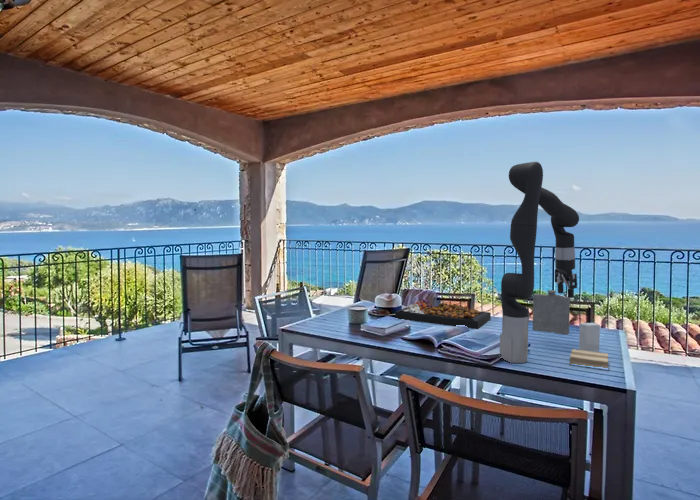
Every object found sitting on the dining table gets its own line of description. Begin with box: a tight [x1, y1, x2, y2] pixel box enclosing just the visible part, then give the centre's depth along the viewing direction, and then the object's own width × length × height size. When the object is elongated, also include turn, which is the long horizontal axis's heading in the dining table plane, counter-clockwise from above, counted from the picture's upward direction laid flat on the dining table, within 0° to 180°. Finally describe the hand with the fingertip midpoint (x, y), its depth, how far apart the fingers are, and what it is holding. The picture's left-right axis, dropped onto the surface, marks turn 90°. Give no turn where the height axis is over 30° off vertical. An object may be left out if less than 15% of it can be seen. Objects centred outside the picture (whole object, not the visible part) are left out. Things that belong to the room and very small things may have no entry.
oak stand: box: [569, 348, 609, 369], centre depth 159 cm, size 12×12×3 cm
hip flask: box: [532, 289, 571, 336], centre depth 205 cm, size 16×4×20 cm, turn 54°
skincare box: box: [578, 322, 601, 352], centre depth 171 cm, size 6×4×12 cm
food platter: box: [394, 298, 492, 330], centre depth 232 cm, size 45×25×10 cm, turn 58°
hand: (565, 295), depth 182 cm, fingers open, 8 cm apart
